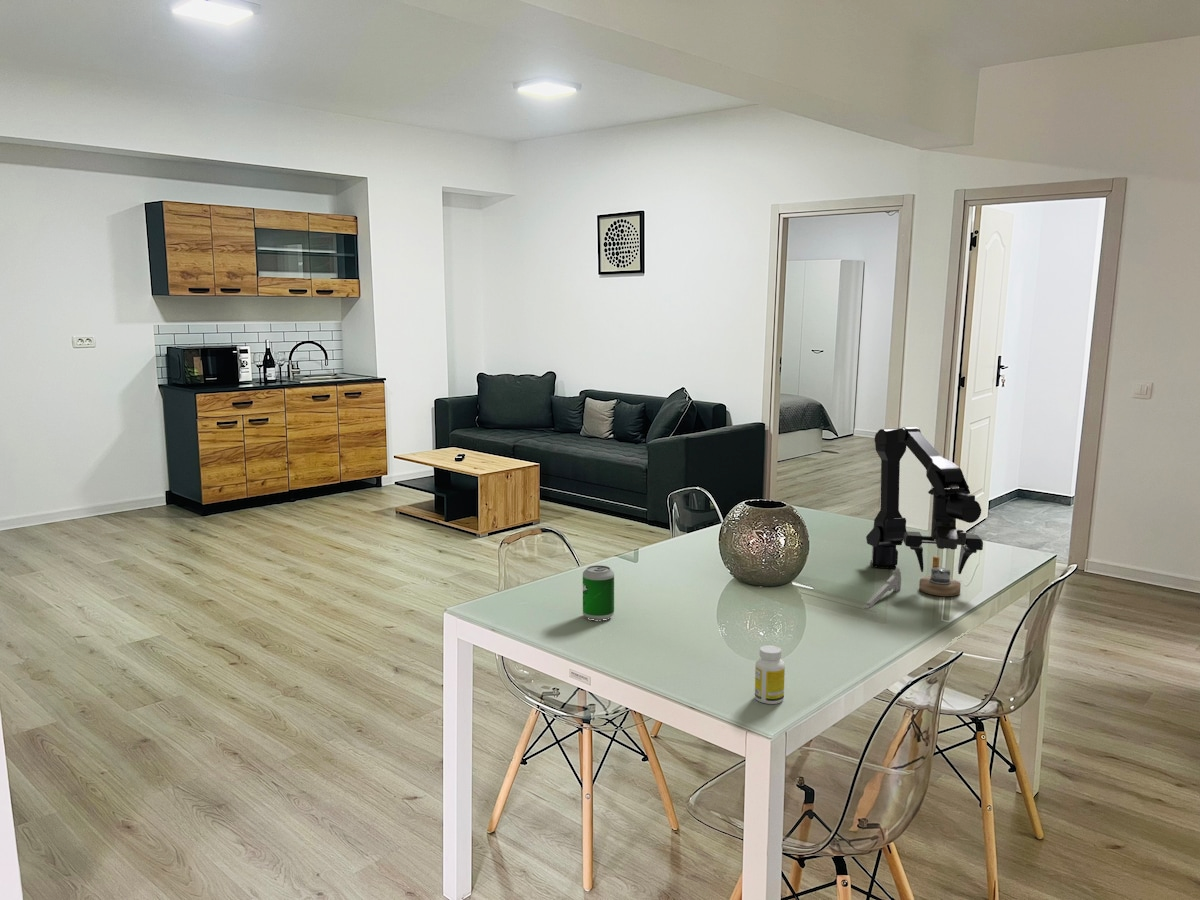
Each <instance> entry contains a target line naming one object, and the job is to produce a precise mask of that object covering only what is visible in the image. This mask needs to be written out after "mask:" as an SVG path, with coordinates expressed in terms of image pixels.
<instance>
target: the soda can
mask: <svg viewBox="0 0 1200 900" xmlns="http://www.w3.org/2000/svg"><path fill="white" fill-rule="evenodd" d="M582 614H583V616H585V618H586V617H587V618H589V619H594V620H603V619H608V618H610V617H613V616H614V614H615V572H614V570H612V569H611V567H610V566H607V565H602V564H601V565H598V564H597V565H590V566H588V567H586V569H585V570H584V571H582ZM587 618H586V619H587ZM610 619H611V618H610Z"/></svg>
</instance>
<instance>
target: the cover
mask: <svg viewBox="0 0 1200 900" xmlns="http://www.w3.org/2000/svg"><path fill="white" fill-rule="evenodd" d="M930 570H931V573H930V576H931V578H930V582H931V583H934V584H938V585H949V584H951V580H950V579H951V569H949V568H945V567H939V568H931V569H930Z"/></svg>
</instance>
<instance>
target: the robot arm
mask: <svg viewBox="0 0 1200 900" xmlns="http://www.w3.org/2000/svg"><path fill="white" fill-rule="evenodd" d="M874 444H875V453H876V454H877V455H878V457H879V458H880V460H881V461H880V462H881V463H880V465H881V466H880V504H879V505H880V509H879V512H878V513H877V515H876V516H875V518H874V520H873V521H874V522H873V527H872V529H871V530H870V531H869V533H868V534H867V535H866V536H865V537H866V538H865V539H866V544H867V545H870V546H871V548H872V549H871V559H870V563H871V566H872V568H878V569H879V568H880V569H893V570H896V568H897V566H898V558H899V552H898V551H899V550H898V549H897V546H902V545H903V544H904V546H905V547H909V548H910V550H913V551H914V552H915V555H916V559H917V562H918V565H919V570H920V572H921V573H923V572H924V555H923V552H924V551H923V550H924V549H923V546H922V545H923V544H932V545H933V544H935V546H936V547H937V548H938V549H940V550H944V549H946V550H947V549H949V550H950V549H951V550H956V549H958V546H960V552H959V557H958V559H959V560H958V565H957V567H958V568H957V572H958V575H961V573H962V572H963V569H964V568H965V565H966V563H967V560H969V558H970V556H971V555H972V554H977V552H978V551H983V550H984V549H983V547H984V541H983V539H982V538H981V537H980V536H979V535H978V534H972V533H970V534H969V533H968V534H967V531H966V529H957V527H956V520H959V521H962V522H965V523H970V524H971V523H972V524H973V523H975V522H977V521H978V520H979V518H980V517H981V515H982V508H981V505H980V503H979V502H978V501H976V495H974V494H971V490H970V489H969V488H970V487H969V485H968V483H967V481H966V478H965V475H964V473H963V470H962V469H961V467H960V466H958V465H957V464H955V463H954V462H953V461H951V460H949V459H946V458H944V457H943V456H942V455H941V454H939V452H938V451H937V450H936V449H935V448H934V447H933V445H932V444H931V443H930V442H929V441H928V440H927V438H926V437H925V436H924V435H923V434H922V432H921V430H920V428H919V427H917V426H906V427H905V426H904V427H900V428H880V429H878V431H876V433H875V435H874ZM907 448H908V449H909V451H911V453H912V454H913V455H914V456H915V458H916V459H917V460H918V461H919V463H920V464H922V466H923V467H924V468H925V470H926V478H927V480H928V481H929V483H930V485H931V486H932V488H931V489H930V490H928V491H927V493H928V495H932V496H933V497H932V511H931V513H932V515H931V529H930V530H931V532H930V535H922V534H921V532H920V531H908V530H907V519H906V517H903V516H902V514H901V513H900V471H901V469H900V466H901V464H900V463H901V460H902V458H903V456H904V454H905V453H906V452H907Z"/></svg>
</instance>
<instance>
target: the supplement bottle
mask: <svg viewBox="0 0 1200 900" xmlns="http://www.w3.org/2000/svg"><path fill="white" fill-rule="evenodd" d="M781 658H782V649H781V647H779V646H775V645H762V646H761V647H759V658H758V659H756V661H755V674H754V675H755V677H754V679H755V680H754V697H755V699H756V701H758V702H760V703H762V704H768V705H777V704H780V703H782V702H783V700H784V699H785V698H784V697H785V671H786V670H785V669H786V668H785V667H786V666H785V662H784V660H782V659H781Z"/></svg>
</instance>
